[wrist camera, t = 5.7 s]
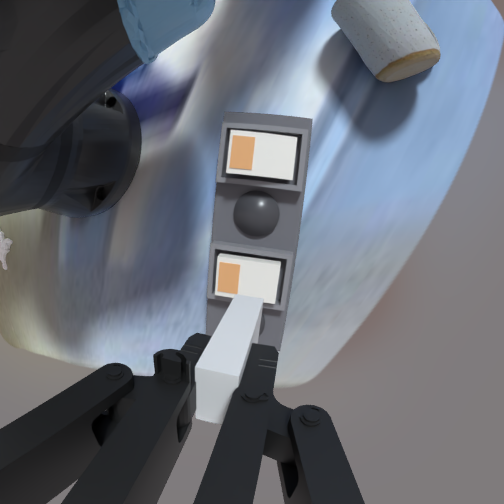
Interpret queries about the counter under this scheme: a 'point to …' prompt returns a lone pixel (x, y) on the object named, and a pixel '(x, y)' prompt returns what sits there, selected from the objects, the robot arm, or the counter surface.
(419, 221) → the counter surface
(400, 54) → the ceramic mug
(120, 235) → the counter surface
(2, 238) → the acanthus leaf ornament
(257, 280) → the rocker outlet
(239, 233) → the power strip
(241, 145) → the rocker outlet
